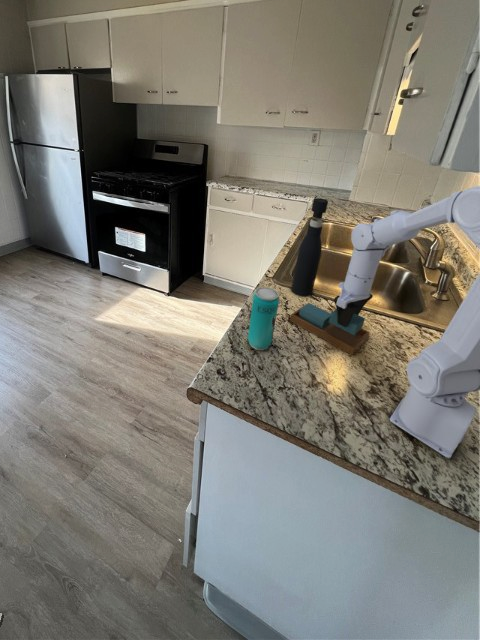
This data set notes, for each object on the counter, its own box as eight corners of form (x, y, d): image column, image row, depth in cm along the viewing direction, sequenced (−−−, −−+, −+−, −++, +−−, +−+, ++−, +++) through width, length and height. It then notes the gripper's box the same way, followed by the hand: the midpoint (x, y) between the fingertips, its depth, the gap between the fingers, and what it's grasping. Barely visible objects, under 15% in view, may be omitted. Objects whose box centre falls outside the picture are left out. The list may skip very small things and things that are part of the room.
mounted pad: (330, 323, 85) (332, 314, 84) (321, 330, 82) (324, 320, 81) (306, 311, 90) (308, 302, 88) (298, 317, 87) (300, 308, 86)
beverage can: (271, 354, 74) (280, 301, 68) (246, 350, 75) (253, 297, 69) (270, 338, 79) (279, 287, 73) (247, 335, 80) (254, 284, 74)
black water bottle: (289, 285, 104) (306, 196, 91) (309, 287, 103) (329, 197, 90) (292, 295, 98) (311, 202, 85) (313, 297, 98) (335, 203, 85)
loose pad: (361, 328, 78) (365, 318, 77) (354, 335, 76) (357, 325, 74) (336, 315, 83) (339, 306, 81) (328, 322, 80) (331, 312, 79)
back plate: (367, 338, 80) (370, 332, 80) (351, 355, 75) (354, 348, 74) (307, 308, 92) (308, 302, 91) (289, 320, 86) (290, 314, 86)
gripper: (357, 258, 80) (344, 303, 86) (329, 276, 71) (317, 324, 77) (386, 269, 75) (371, 315, 81) (361, 288, 66) (345, 339, 72)
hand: (346, 320), depth 79 cm, fingers closed on loose pad, 4 cm apart
